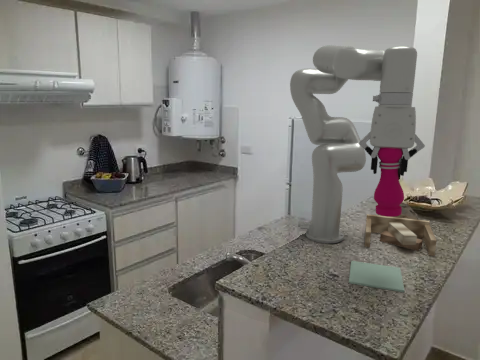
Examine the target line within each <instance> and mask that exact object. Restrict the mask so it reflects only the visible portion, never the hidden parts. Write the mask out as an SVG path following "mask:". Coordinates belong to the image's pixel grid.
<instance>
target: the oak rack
mask: <svg viewBox="0 0 480 360" xmlns="http://www.w3.org/2000/svg"><path fill="white" fill-rule="evenodd" d="M389 222H397V223H402V224H403V225H404V226H406V227H407V228H408V229H409V230H410V231H412V232H413V233H414V234H415V235H417V239H421V240H423V243H424V245H425V246H424V247H425V249H426V251H427V255H428V256H432V257H435V255H436V254H435V253H436V248H437V238H436V236H435V233H434V231H433V230H432V227H431V225H430V224H431V223H430V222H431V221H430V220H425V219H418V220H416V219H407V218H398V217H386V216H380V215H378V214H377V215H376V214H369V213H367V214H366V219H365V229H364V247H365V248H370V247H371V237H372V236H371V235H372V233H375V234H381V233H382V232H384V231H388V225H389ZM388 232H389V231H388Z"/></svg>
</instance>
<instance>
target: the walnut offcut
mask: <svg viewBox="0 0 480 360" xmlns="http://www.w3.org/2000/svg"><path fill="white" fill-rule="evenodd" d="M379 235H380V237H379V242H383V243H385V244H389V245H392V246H393V245H394V246H398V247H401V248H405V249H409V250H412V251H417V252H419V251H420V250H421V249H423V243H424V241H423V239H422V238H417V240H416V245H402V244H401V243H400V242H399V241H398V240H397V239H396V238H395V237H394V236H393V235H392V234H391V233H390V232H388V231H384V232H382V233H379Z"/></svg>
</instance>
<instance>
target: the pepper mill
mask: <svg viewBox="0 0 480 360" xmlns="http://www.w3.org/2000/svg"><path fill="white" fill-rule="evenodd" d="M402 156H403V151H402V149H401V148H381V147H380V149H379V151H378V153H377V158H378V160H380V161H378V167H379V168H380V177H379V181H378V184H377V185H376V188H375V189H374V193H373V200H374V201H375V202H376V205H375V213H376V214H377V215H379V216H380V215H381V216H386V217H395V216H399V215H401V213H402V207H401V206H399V205H400V204H401V203H403V202H404V200H405V194H404V190H403V188H402V185H401V183H400V179H399V169H400V163H401V159H402ZM376 214H375V215H376Z"/></svg>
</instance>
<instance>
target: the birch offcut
mask: <svg viewBox="0 0 480 360" xmlns="http://www.w3.org/2000/svg"><path fill="white" fill-rule="evenodd" d="M388 231H389V232H390V233H391V234H392V235H393V236H394V237H395V238H396V239H397V240H398V241H399V242H400V243H401V244H402V245H416V240H417V239H418V238H417V235H415V234H414V233H413V232H412V231H410V230H409V229H408V228H407V227H406V226H404V225H403V224H402V223H397V222H389V225H388Z"/></svg>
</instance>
